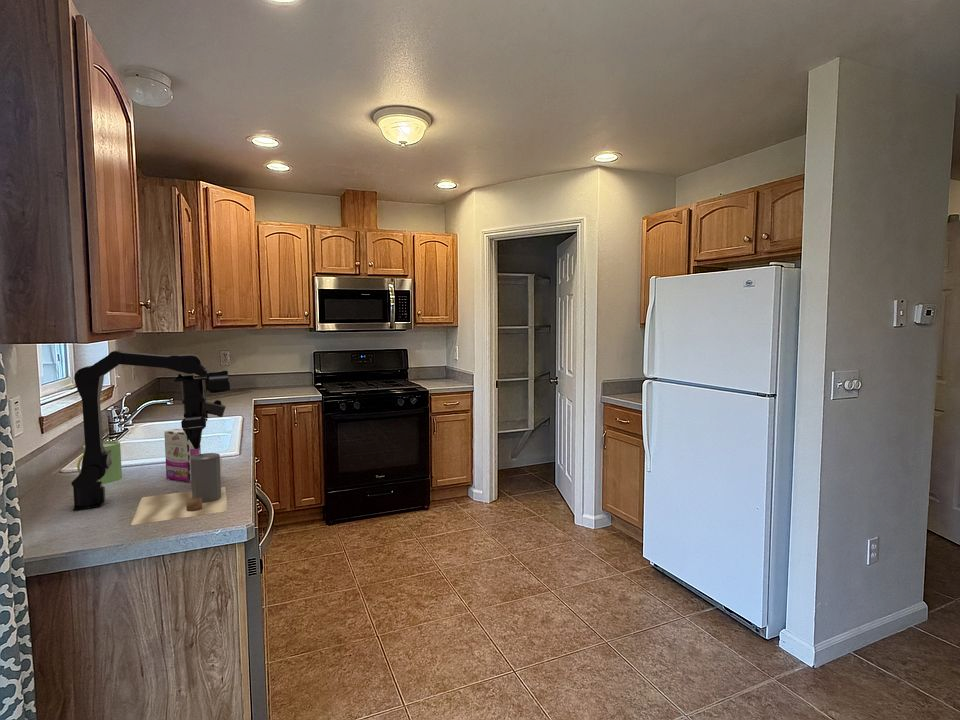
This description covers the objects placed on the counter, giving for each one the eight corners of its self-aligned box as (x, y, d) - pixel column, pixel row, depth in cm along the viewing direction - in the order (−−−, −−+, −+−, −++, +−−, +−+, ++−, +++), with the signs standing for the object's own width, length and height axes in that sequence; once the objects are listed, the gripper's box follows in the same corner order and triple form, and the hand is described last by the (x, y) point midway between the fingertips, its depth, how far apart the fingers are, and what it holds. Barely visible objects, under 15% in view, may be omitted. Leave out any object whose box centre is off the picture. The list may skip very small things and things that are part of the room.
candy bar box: (202, 479, 176) (201, 430, 175) (189, 483, 171) (187, 433, 170) (179, 475, 180) (177, 428, 179) (165, 479, 176) (163, 430, 175)
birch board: (130, 529, 133) (130, 525, 133) (142, 500, 154) (141, 497, 154) (227, 514, 143) (227, 510, 143) (225, 489, 164) (225, 486, 164)
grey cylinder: (192, 504, 148) (190, 460, 147) (192, 496, 155) (191, 454, 154) (221, 500, 152) (219, 457, 151) (220, 493, 158) (219, 452, 157)
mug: (109, 473, 182) (107, 439, 181) (128, 477, 178) (126, 442, 177) (68, 484, 171) (66, 447, 170) (87, 488, 166) (85, 450, 166)
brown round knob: (186, 512, 142) (185, 503, 142) (186, 507, 146) (186, 498, 145) (202, 509, 144) (201, 500, 144) (202, 505, 147) (202, 496, 147)
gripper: (222, 395, 155) (226, 448, 156) (223, 389, 172) (227, 436, 173) (178, 399, 151) (183, 453, 152) (184, 393, 167) (188, 441, 169)
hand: (197, 445), depth 161 cm, fingers open, 9 cm apart
